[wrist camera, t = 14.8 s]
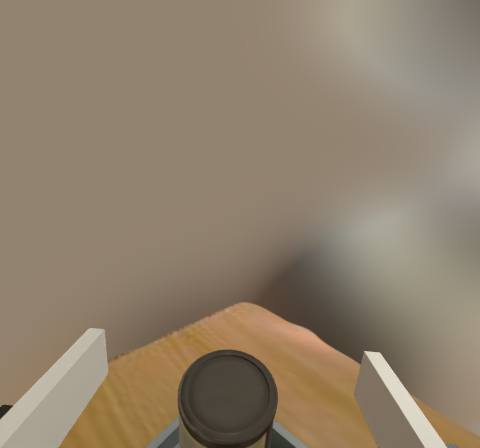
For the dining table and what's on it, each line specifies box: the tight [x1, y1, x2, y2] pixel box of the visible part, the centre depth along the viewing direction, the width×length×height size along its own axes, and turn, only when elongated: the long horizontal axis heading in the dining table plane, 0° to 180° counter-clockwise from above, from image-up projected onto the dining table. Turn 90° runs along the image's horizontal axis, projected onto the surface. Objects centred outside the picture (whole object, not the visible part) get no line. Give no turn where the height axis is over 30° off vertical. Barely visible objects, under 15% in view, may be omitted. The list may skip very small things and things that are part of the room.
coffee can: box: [178, 350, 278, 448], centre depth 26 cm, size 10×10×14 cm
